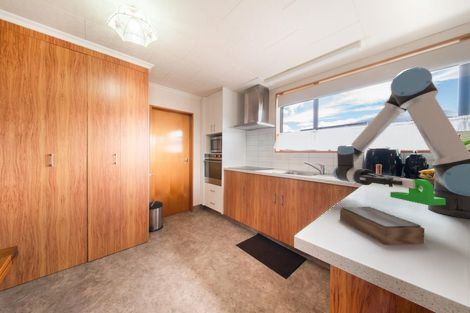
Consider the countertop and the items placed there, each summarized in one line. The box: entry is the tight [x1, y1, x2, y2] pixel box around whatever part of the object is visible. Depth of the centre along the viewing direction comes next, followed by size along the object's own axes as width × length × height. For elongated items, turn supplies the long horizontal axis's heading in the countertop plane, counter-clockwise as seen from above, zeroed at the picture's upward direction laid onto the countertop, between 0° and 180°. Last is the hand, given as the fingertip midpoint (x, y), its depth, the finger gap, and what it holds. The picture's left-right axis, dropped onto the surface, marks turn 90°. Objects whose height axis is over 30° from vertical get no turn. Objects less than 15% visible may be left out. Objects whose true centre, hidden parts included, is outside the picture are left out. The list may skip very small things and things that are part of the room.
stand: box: [339, 206, 425, 246], centre depth 55 cm, size 12×18×5 cm, turn 4°
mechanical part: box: [389, 178, 446, 206], centre depth 59 cm, size 12×6×8 cm, turn 4°
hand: (417, 184), depth 56 cm, fingers closed on mechanical part, 2 cm apart
